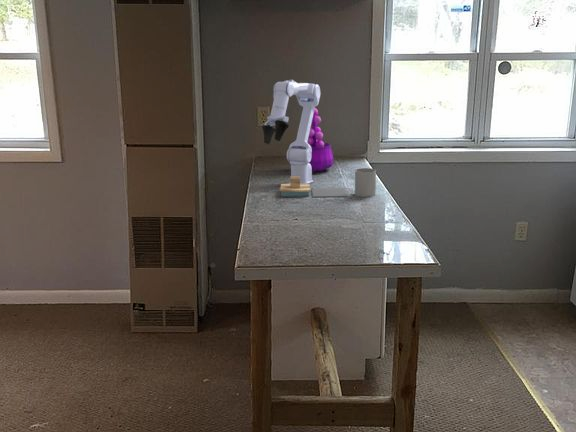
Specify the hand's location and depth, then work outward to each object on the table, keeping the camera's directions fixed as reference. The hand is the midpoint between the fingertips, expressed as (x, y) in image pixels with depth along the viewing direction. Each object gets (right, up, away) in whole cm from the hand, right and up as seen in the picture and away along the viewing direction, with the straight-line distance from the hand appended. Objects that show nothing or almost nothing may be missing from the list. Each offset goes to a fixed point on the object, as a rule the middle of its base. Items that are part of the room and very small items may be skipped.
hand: (271, 141), depth 243 cm
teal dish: (+9, -20, +12) cm, 25 cm away
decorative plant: (+19, -7, +56) cm, 59 cm away
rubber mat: (+23, -20, +11) cm, 33 cm away
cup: (+38, -21, +8) cm, 44 cm away
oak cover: (+9, -18, +11) cm, 23 cm away
